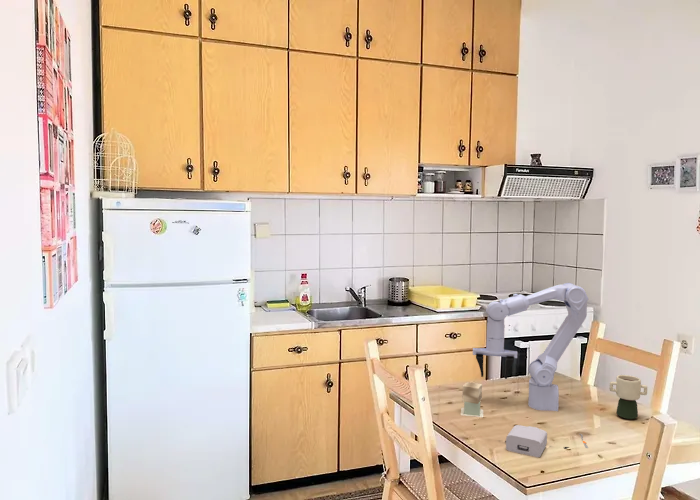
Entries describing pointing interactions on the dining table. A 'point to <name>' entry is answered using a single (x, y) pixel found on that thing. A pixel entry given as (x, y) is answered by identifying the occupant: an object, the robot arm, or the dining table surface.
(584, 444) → the key chain
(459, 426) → the dining table surface
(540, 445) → the charger
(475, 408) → the sage base block
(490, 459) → the dining table surface
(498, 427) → the dining table surface
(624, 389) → the trophy cup
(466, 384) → the maple block
